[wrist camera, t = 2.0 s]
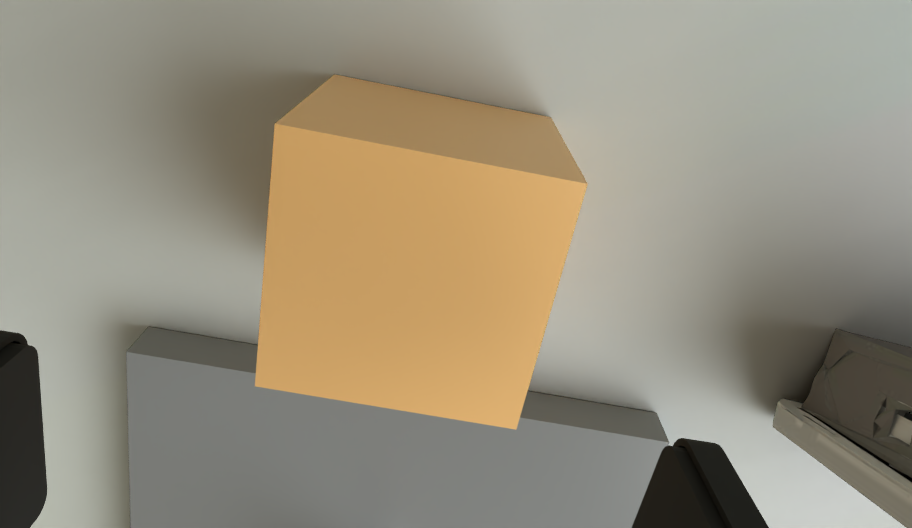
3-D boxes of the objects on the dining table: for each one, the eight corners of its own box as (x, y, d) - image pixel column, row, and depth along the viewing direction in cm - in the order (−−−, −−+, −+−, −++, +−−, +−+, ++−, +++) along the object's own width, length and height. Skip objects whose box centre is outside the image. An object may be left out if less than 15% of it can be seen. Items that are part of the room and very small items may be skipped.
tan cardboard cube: (334, 74, 18) (274, 123, 12) (551, 117, 18) (587, 183, 12) (312, 271, 20) (254, 386, 15) (503, 305, 20) (515, 429, 15)
